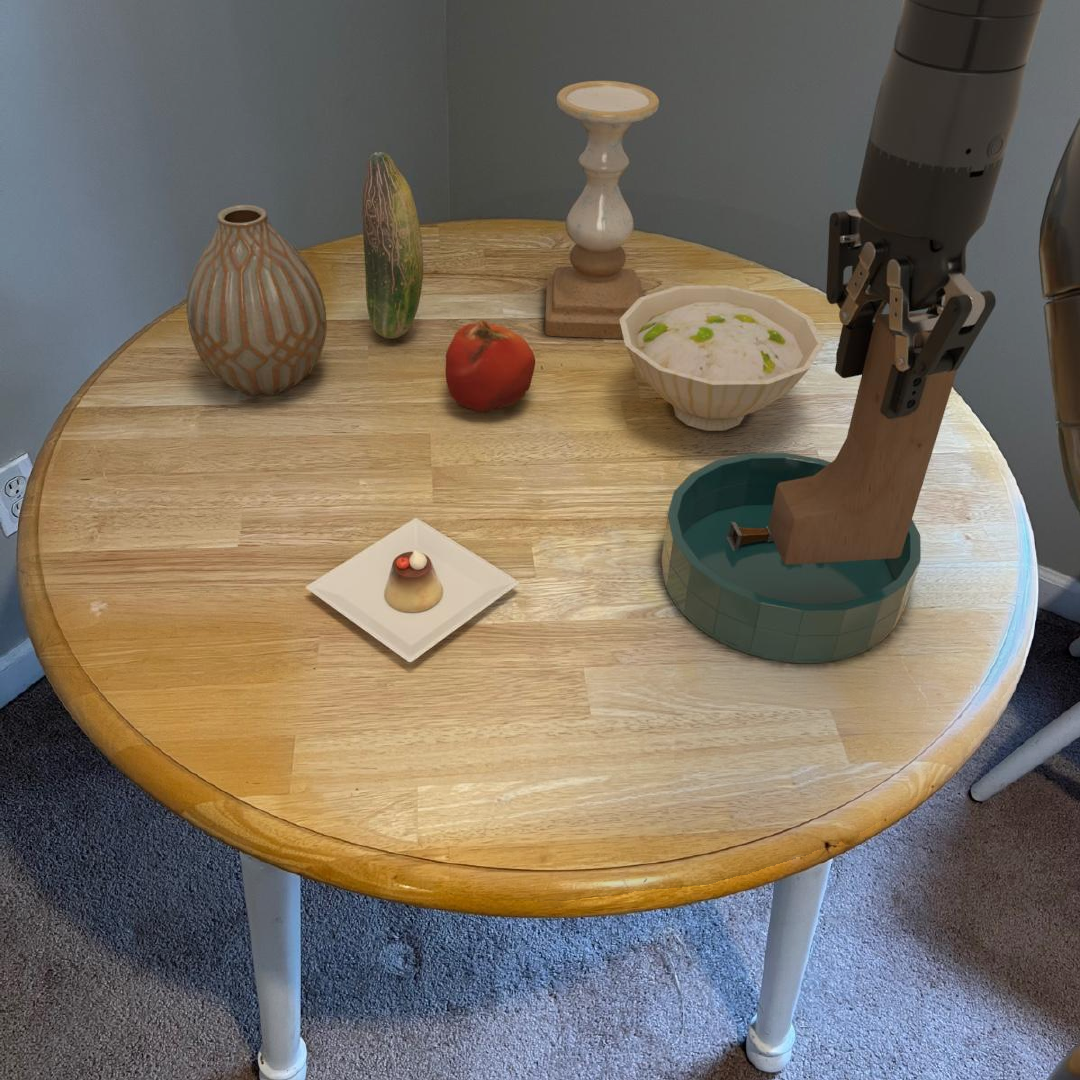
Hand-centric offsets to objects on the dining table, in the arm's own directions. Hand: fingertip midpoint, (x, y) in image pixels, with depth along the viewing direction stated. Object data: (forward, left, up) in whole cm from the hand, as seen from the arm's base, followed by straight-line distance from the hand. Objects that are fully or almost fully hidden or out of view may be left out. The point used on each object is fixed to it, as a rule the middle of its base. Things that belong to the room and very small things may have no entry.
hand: (873, 392), depth 73 cm
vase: (+49, +34, -21) cm, 63 cm away
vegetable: (+53, +19, -21) cm, 60 cm away
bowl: (+29, -6, -21) cm, 36 cm away
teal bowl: (+5, 0, -21) cm, 21 cm away
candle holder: (+51, -3, -21) cm, 55 cm away
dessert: (+13, +29, -21) cm, 38 cm away
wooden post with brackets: (+7, 0, -20) cm, 21 cm away
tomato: (+38, +14, -21) cm, 46 cm away
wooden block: (0, 0, -14) cm, 14 cm away
